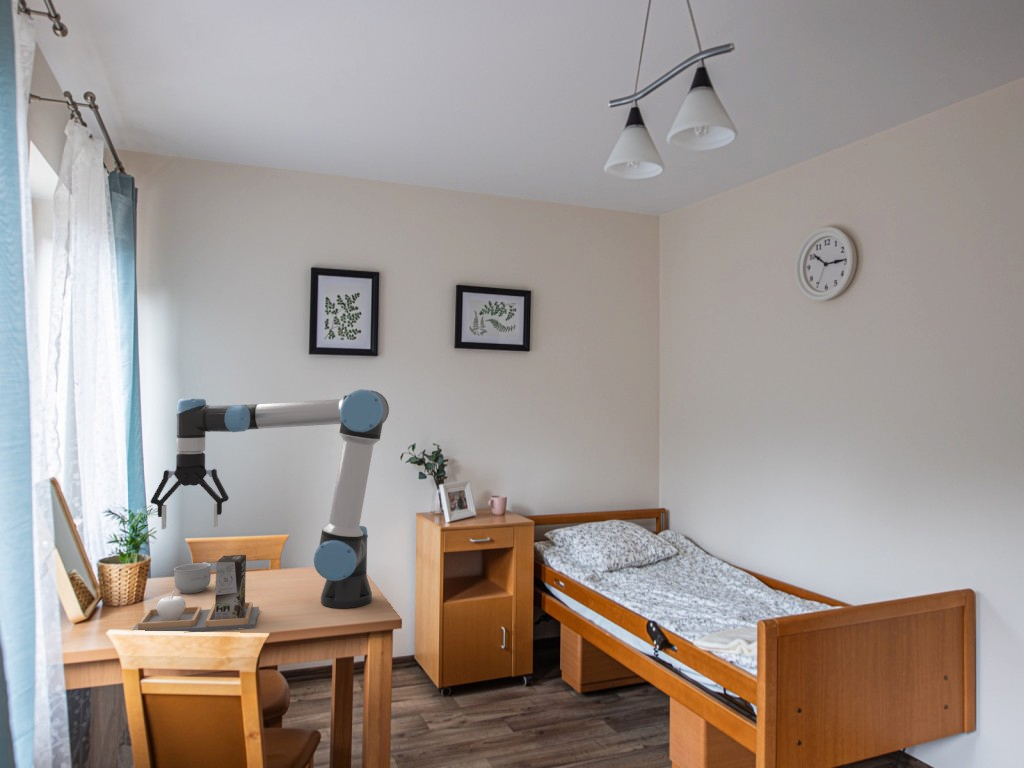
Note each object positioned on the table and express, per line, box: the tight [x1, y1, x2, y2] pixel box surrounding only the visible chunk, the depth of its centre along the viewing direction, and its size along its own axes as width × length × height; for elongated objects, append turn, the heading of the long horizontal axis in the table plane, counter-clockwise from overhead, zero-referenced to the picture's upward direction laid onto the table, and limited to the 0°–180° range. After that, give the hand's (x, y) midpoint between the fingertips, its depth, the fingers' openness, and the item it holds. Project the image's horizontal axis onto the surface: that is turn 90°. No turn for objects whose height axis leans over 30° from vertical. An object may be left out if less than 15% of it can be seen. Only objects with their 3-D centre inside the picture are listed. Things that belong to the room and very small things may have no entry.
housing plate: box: [132, 601, 260, 632], centre depth 199 cm, size 30×17×2 cm, turn 105°
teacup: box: [173, 561, 212, 594], centre depth 232 cm, size 14×11×8 cm
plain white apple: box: [156, 589, 187, 621], centre depth 197 cm, size 7×7×8 cm
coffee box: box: [214, 554, 247, 620], centre depth 202 cm, size 9×6×16 cm
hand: (190, 527), depth 207 cm, fingers open, 13 cm apart
